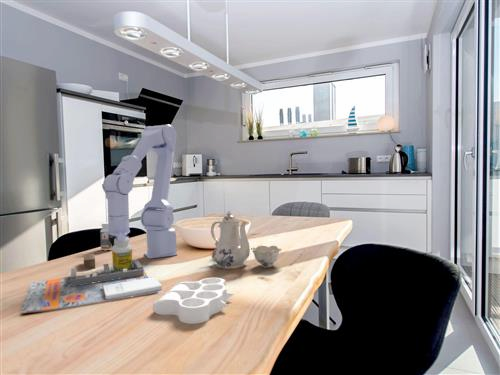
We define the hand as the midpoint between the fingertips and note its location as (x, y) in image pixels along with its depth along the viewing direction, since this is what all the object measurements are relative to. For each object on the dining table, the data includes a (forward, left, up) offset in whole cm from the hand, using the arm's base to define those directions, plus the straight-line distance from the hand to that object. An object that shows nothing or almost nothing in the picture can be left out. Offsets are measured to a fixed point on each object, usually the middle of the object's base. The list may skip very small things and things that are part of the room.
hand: (119, 261), depth 101 cm
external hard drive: (-1, +21, -3) cm, 21 cm away
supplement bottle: (-1, +2, -2) cm, 3 cm away
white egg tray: (-11, +38, -3) cm, 40 cm away
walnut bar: (+8, -8, -2) cm, 11 cm away
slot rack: (+4, +5, -2) cm, 7 cm away
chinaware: (-33, +13, -3) cm, 35 cm away
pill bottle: (+1, -29, -2) cm, 29 cm away
